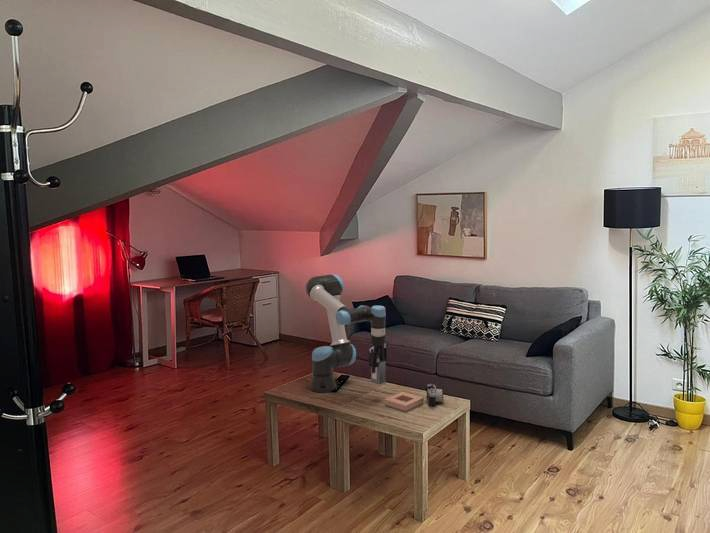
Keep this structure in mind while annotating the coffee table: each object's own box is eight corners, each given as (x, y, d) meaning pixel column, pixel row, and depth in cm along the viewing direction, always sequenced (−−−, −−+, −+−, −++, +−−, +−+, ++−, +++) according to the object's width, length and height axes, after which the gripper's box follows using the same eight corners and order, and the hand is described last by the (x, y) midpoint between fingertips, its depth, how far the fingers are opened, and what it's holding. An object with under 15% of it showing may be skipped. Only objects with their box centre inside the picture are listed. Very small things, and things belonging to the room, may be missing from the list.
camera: (444, 408, 299) (444, 390, 298) (426, 408, 299) (426, 390, 298) (441, 397, 314) (441, 380, 313) (425, 397, 315) (425, 380, 313)
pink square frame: (384, 405, 304) (384, 399, 304) (402, 397, 315) (402, 391, 314) (405, 412, 295) (405, 405, 294) (423, 404, 305) (423, 397, 305)
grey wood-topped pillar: (370, 382, 311) (370, 360, 309) (376, 379, 314) (377, 358, 312) (379, 384, 307) (379, 362, 305) (385, 382, 310) (385, 360, 308)
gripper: (372, 339, 297) (372, 383, 301) (394, 332, 310) (394, 374, 314) (361, 337, 302) (361, 379, 306) (383, 330, 315) (383, 371, 319)
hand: (378, 377), depth 310 cm, fingers closed on grey wood-topped pillar, 5 cm apart
